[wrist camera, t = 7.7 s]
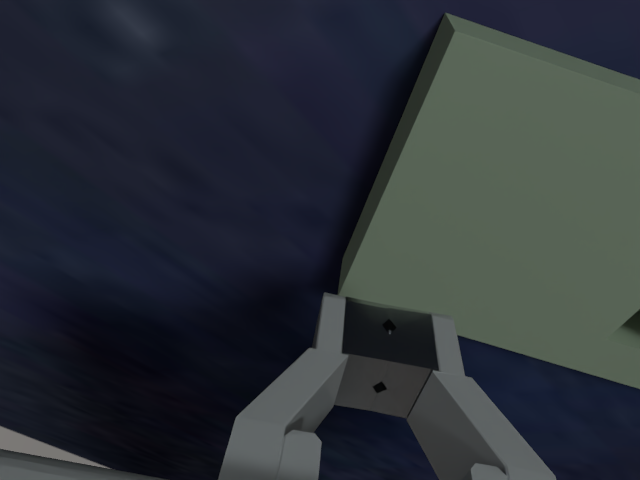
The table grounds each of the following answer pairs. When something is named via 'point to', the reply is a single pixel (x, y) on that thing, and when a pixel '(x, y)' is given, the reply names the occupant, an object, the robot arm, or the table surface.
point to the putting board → (512, 203)
